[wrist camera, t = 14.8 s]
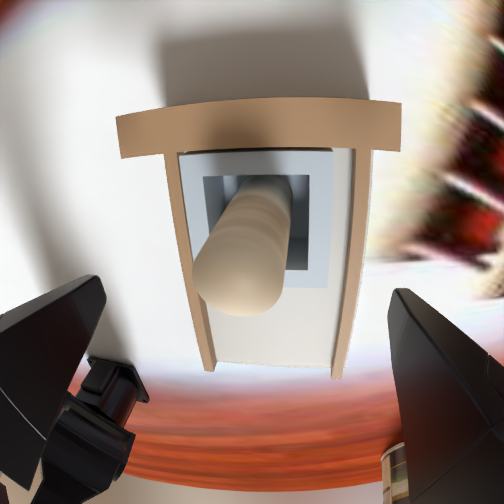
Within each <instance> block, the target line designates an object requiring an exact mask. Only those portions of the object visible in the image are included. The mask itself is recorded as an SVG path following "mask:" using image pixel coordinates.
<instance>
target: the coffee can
mask: <svg viewBox="0 0 504 504" xmlns="http://www.w3.org/2000/svg"><path fill="white" fill-rule="evenodd" d="M381 462H382V475H383V504H409V503H410V502H409V490H408V476H407V465H406V455H405V446H404V442H401V443H399V444H397V445H395V446H393V447H391V448H390V449H388V450H387V451H386V452H385V453H384V454H383V455H382V457H381Z"/></svg>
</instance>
